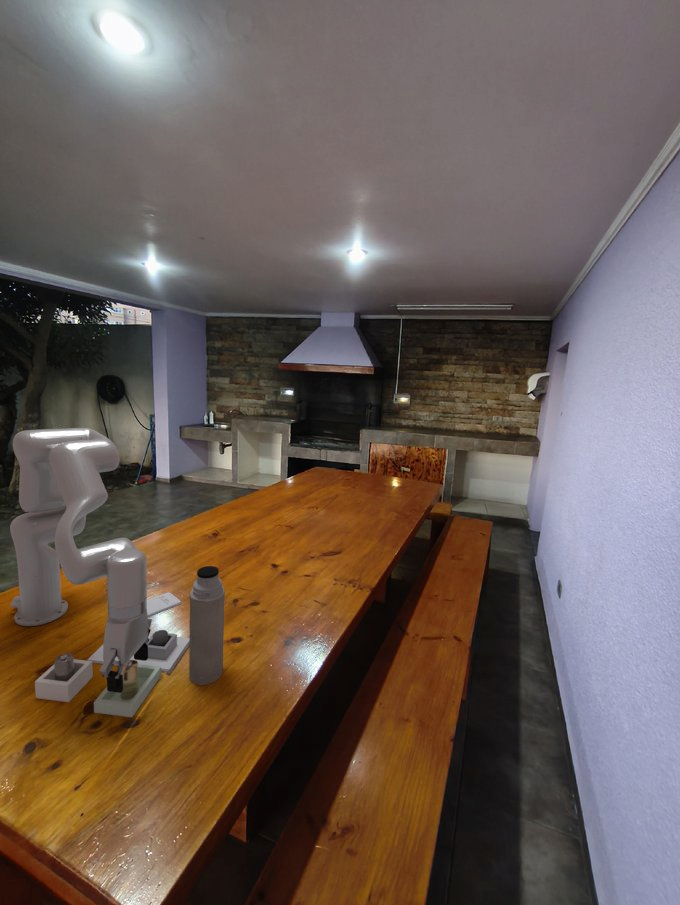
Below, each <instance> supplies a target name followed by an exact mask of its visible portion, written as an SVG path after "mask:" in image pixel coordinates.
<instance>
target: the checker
mask: <svg viewBox="0 0 680 905" xmlns="http://www.w3.org/2000/svg"><path fill="white" fill-rule="evenodd" d="M153 634H154V633H151V632H150V633H149V636H148V638H149V642H148V644H147V645H148V659H147V660H146V661H143V660H136V661H137V662H138V664H143V665H151V666H160V667H161V672H166V674H165V675H168V676H169V675H171V673H172V671H173V670H174V669H175V667H176V666H177V665H178V663H179V661H180V660H181V658H182V657H183V655H184V654H185V652H186V651H187V649H188V648H189V642H190V637H183V636H178V634H177V633H169V632H168V642H167V644H166V645H165V646H164V647H161V646H153ZM103 646H104V643H103V644H102V645H100V647H99V648H98V649H97V650H96V651H94V653H93V654H92V655H90V657H89V658H87V661H92V664H99V665H103V663H104V660H103ZM130 660H135V659H134V655H133V657H132V658H131V659H130ZM115 661H119V659H118V657H116V658H115ZM113 666H116V667H118V666H119V664H114V665H113Z"/></svg>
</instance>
